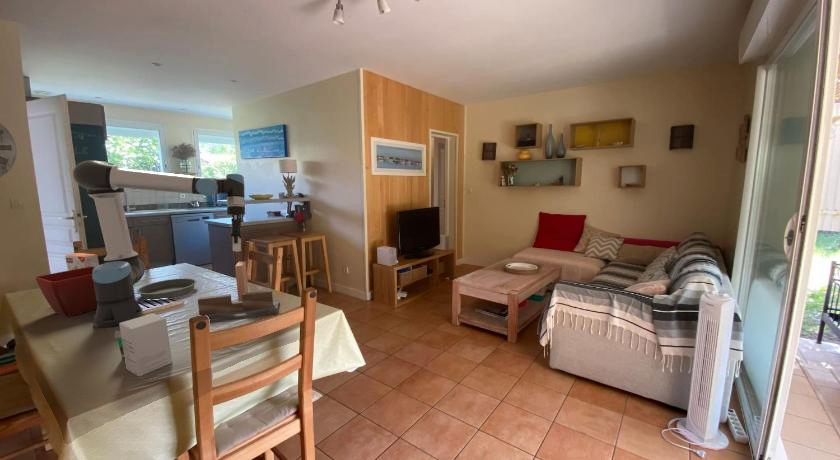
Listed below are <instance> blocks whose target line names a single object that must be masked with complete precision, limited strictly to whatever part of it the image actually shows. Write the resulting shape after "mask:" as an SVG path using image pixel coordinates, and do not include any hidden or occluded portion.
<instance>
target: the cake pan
mask: <svg viewBox="0 0 840 460" xmlns="http://www.w3.org/2000/svg"><path fill="white" fill-rule="evenodd" d="M197 281H198V280H196V279H194V278H188V277H187V278H184V277H183V278H182V277H181V278H170V279H164V280H159V281H155V282H152V283H148V284H145V285H143V286H141V287H138V288H137V289H136V293H137V294H140V296H141V298H142V299H145V300H144V301H148V300H147V299H160V298H172V299H176V298H177V299H178V298H180V297H184V296H187V295H189V294H191V293H192V292H194V290H195V285H196V284H197Z"/></svg>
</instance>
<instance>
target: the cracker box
mask: <svg viewBox="0 0 840 460" xmlns="http://www.w3.org/2000/svg"><path fill="white" fill-rule="evenodd" d="M64 257H65V264H66V267H67V271H69V270H74V269H80V268H86V267H96V266H98V265H100V263H99V255H98V254H95V253H83V252H75V253H70V254H69V253H68V254H66V255H65V256H64Z"/></svg>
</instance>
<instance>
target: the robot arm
mask: <svg viewBox="0 0 840 460" xmlns="http://www.w3.org/2000/svg"><path fill="white" fill-rule="evenodd" d="M72 176H73V179H74V181H75V182H76V183H77V184H78V185H79V186H80V187H82V188H84V189H86V192H87V195H88V196H89V197H90V198H92V199H93V200H94V205H95V207H96V208H95V209H96V212H97V218H98V222H99V225H100V229H101V233H102V238H103V242H104V246H105V251H106V253H107V255H106V256H105V257H104V258H103V261H104V263H101V264H99V265H98V266H96V267H95V268H94V269H93V271H92V274H93V275H92V279H93V282H94V288H95V294H96V300H97V309H95V313H94V317H93V325H94V327H95V328H109V327H110V328H111V327H112V328H113V327H117V326H120V325H119V323H121V322H125V321H128V320H132V319H135V318H138V317H142V316H144V314H142V313H143V309H142V308H141V306H140V304H139V303H138V301H137V300H136V295H135V290H134V289H135V288H134V285H136V284H137V283H139V282H140V281H141V280H142V278H143V277H144V274H145V271H146V268H145V267H146V266H145V263H143V262H142V260H140V256H139V255H140V254H139V253H138V252H137V251H135V250H134V249H133V248H134V247H133V244H132V239H131V236H130V230H129V226H128V222H127V218H126V214H125V213H126V212H125V209H124V204H123V200H122V196H123V195H124V194H125V189H132V190H142V191H143V190H145V191H155V192H157V191H158V192H167V193H179V194H190V195H199V196H200V195H201V196H206V197H207V196H208V197H209V196H214V195H226V206H227V207H226V214H227V215H228V216H231V221H230V222H231V227H232V231H231V234H230V237H232V251H233V252H242V238H243V236H242V235H241V228H242V224H241V223H242V218H240V216H244V215H245V214H246V207H245V204H246V203H247V200H246V199H245V178H244V175H242V174H240V173H227V174H226V177H225V178H219V177H205V176H193V175H185V174H175V173H167V172H157V171H155V172H154V171H146V170H137V169H130V168H129V169H127V168H120V167H119V166H118V165H116V164H114V163H112V162H110V161H101V160H84V161H81V162H79V163H77V165H76V166H74V168H73V171H72Z"/></svg>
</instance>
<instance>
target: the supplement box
mask: <svg viewBox="0 0 840 460" xmlns="http://www.w3.org/2000/svg"><path fill="white" fill-rule="evenodd" d="M118 326H119V331H120V332H121V338H122V344H123V350H124V356H125V359H124V362H125V363H124V364H125V369H126V370H128V371H129V372H131V373H132V374H134V375H135V376H137V377H142V376H144V375H146V374H148V373H151V372H154V371H157V370H158V369H161V368H163V367H166V366H168V365H170V364H172V363H173V359H172V350H171V344H170V337H169V330H168V323H167V318H166V317H163V316H161V315H158V314H156V313H154V312H153V313H149V314H146V315H143V316H142V317H138V318H135V319H132V320H128V321H125V322H121V323H119V325H118Z"/></svg>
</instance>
